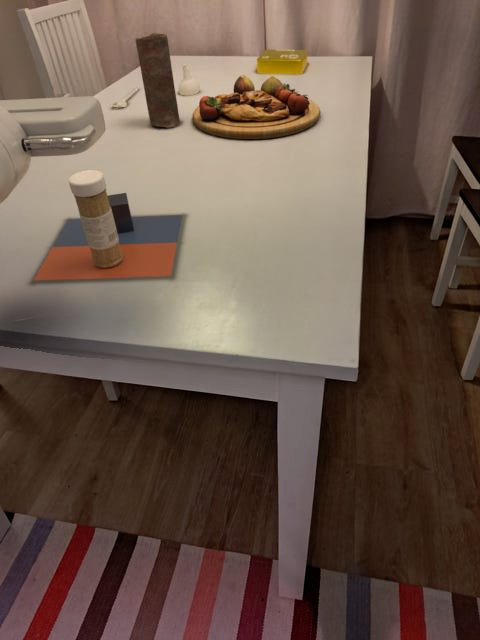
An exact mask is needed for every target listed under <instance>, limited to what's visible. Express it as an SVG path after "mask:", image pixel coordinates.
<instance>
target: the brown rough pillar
mask: <svg viewBox="0 0 480 640" xmlns="http://www.w3.org/2000/svg"><path fill="white" fill-rule="evenodd" d="M135 45H136V50H137V56H138V62H139V66H140V73H141V79H142V83H143V90H144V97H145V102H146V106H147V113H148V119H149V123H150V124H151V125H152V126H154V127H155V126H156V127H159V128H160V127H161V128H162V127H163V128H177V127H178V126H180V124H181V121H180V114H179V106H178V100H177V94H176V87H175V82H174V81H175V80H174V74H173V68H172V67H173V66H172V59H171V53H170V47H169V39H168V35H167V34H166V33H158V32H152V33H150V34H149V35H146V36H142V37H140V38H138V37H136V38H135Z"/></svg>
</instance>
